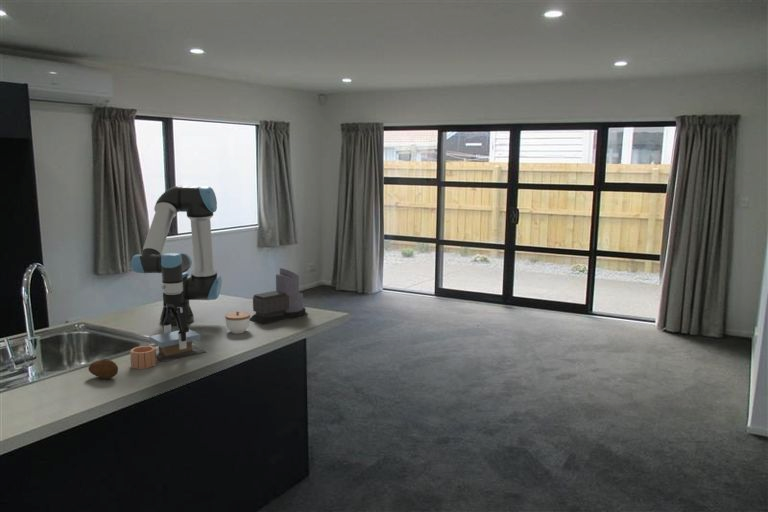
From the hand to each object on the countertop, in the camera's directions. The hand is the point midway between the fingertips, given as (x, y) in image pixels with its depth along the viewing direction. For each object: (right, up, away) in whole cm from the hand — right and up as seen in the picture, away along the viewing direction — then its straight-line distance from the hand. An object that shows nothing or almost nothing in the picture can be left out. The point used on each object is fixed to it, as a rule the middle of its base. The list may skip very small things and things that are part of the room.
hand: (175, 344), depth 227 cm
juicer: (+32, +5, +56) cm, 64 cm away
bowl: (-7, -5, -14) cm, 16 cm away
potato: (-15, -8, -27) cm, 32 cm away
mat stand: (0, -3, +1) cm, 3 cm away
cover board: (0, +2, 0) cm, 2 cm away
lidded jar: (+17, +1, +30) cm, 34 cm away
